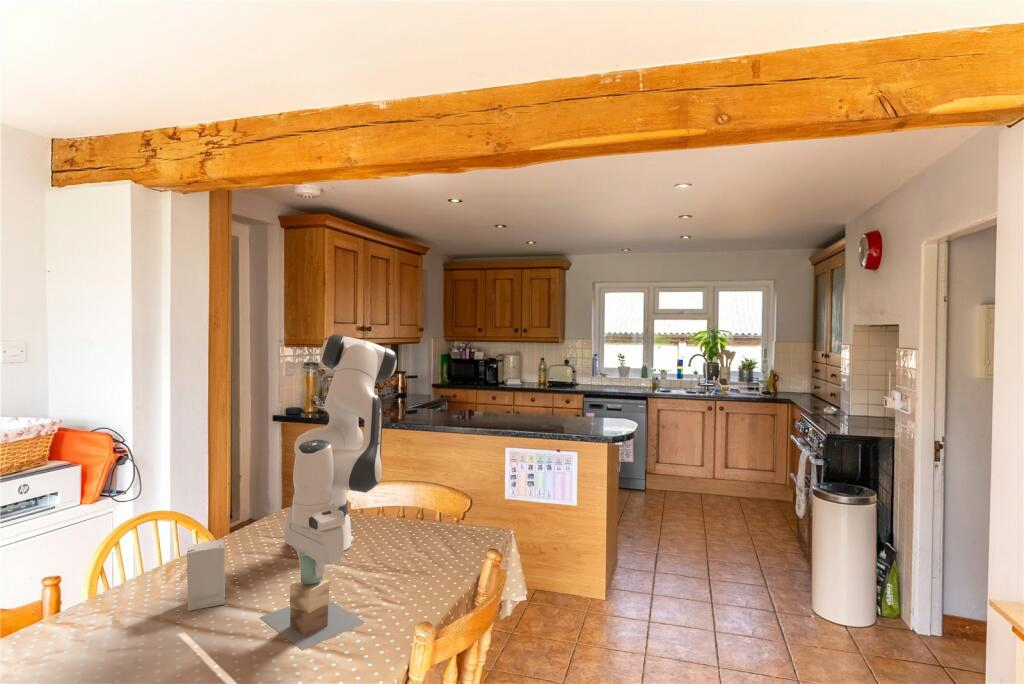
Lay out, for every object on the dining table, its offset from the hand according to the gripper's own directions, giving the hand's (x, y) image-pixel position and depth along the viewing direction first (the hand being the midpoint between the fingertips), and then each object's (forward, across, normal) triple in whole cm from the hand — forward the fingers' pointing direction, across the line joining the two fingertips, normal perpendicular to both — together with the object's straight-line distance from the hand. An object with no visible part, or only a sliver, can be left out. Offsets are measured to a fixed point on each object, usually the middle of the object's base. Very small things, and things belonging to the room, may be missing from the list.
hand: (311, 571), depth 127 cm
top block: (+8, 0, 0) cm, 8 cm away
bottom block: (+12, 0, 0) cm, 13 cm away
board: (+14, -2, +2) cm, 14 cm away
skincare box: (+14, -30, -11) cm, 35 cm away
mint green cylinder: (+2, 0, 0) cm, 2 cm away
